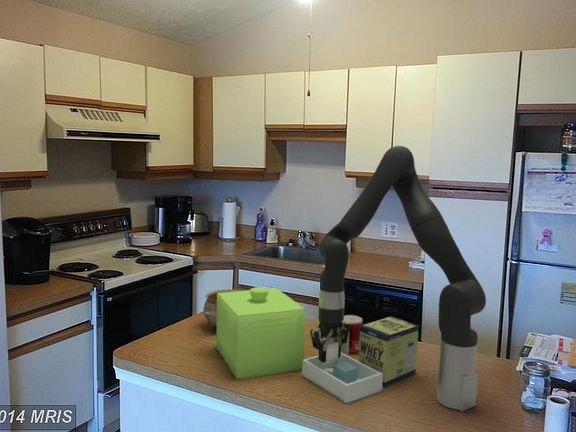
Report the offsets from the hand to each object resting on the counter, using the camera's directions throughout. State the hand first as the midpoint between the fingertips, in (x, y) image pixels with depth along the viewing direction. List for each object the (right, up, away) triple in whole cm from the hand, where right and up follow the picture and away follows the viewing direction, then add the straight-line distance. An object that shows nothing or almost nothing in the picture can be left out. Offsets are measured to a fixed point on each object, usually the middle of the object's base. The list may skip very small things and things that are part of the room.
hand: (329, 359), depth 147 cm
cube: (+4, -5, -5) cm, 8 cm away
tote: (+3, -6, -4) cm, 8 cm away
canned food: (+9, -3, +21) cm, 23 cm away
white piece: (0, -2, 0) cm, 2 cm away
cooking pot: (-35, +1, +40) cm, 53 cm away
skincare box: (+4, -4, +12) cm, 13 cm away
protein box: (+18, -6, +3) cm, 19 cm away
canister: (-22, -3, +12) cm, 26 cm away
